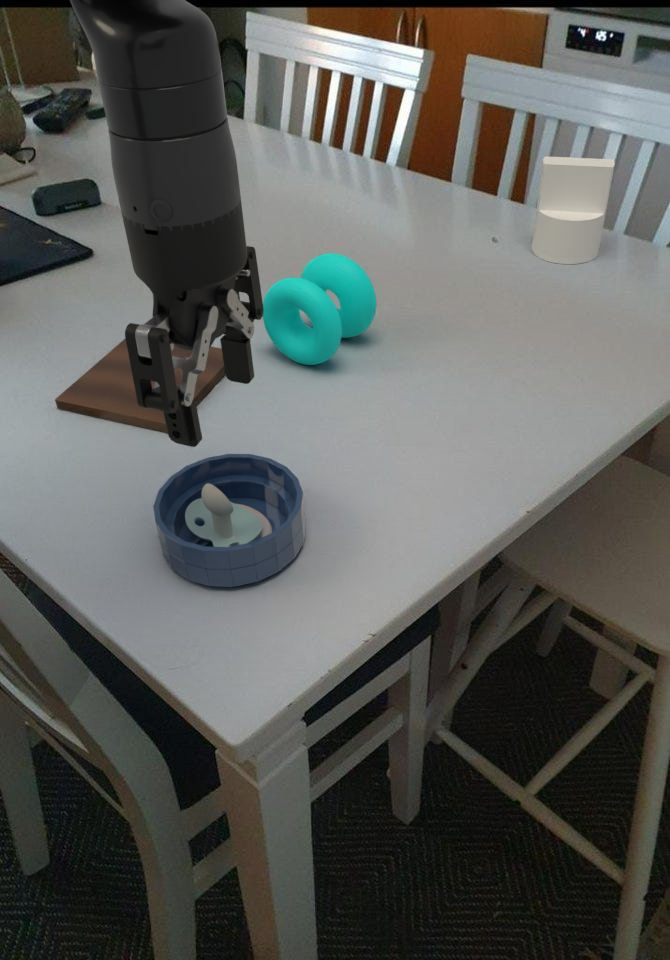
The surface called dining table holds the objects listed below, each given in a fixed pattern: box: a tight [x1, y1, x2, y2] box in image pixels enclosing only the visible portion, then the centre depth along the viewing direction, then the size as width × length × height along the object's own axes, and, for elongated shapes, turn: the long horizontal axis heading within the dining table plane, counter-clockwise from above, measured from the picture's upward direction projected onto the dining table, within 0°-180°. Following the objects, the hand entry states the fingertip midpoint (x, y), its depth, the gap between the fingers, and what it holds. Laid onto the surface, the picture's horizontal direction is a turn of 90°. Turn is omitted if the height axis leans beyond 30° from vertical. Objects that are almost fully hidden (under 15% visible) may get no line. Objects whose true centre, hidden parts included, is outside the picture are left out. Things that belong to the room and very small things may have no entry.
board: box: [54, 337, 226, 434], centre depth 89 cm, size 15×14×1 cm
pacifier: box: [185, 483, 272, 547], centre depth 67 cm, size 7×6×6 cm
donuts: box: [262, 252, 377, 366], centre depth 91 cm, size 10×10×10 cm
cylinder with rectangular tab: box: [531, 156, 616, 265], centre depth 108 cm, size 9×9×12 cm
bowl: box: [152, 453, 307, 588], centre depth 68 cm, size 12×12×4 cm
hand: (215, 410), depth 61 cm, fingers open, 8 cm apart
